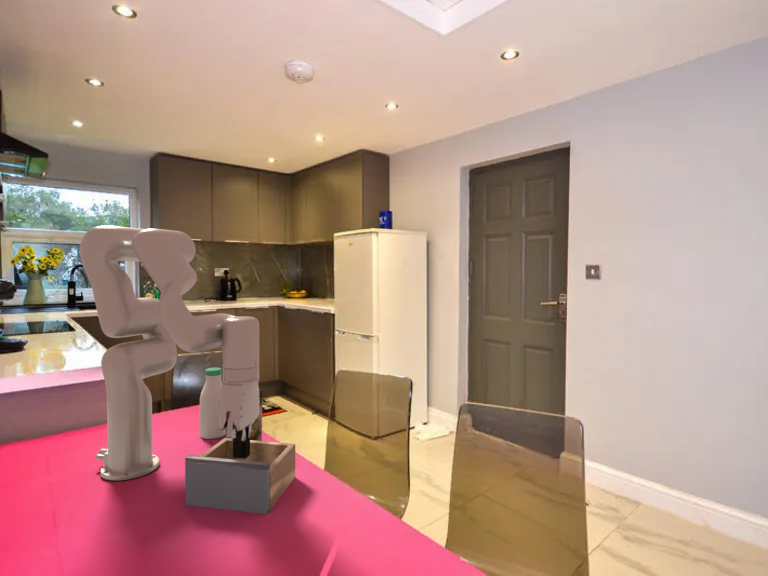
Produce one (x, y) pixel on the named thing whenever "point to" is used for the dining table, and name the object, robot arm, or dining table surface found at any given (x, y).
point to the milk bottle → (211, 405)
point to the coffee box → (257, 423)
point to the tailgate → (227, 484)
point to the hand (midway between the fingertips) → (241, 456)
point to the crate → (263, 451)
